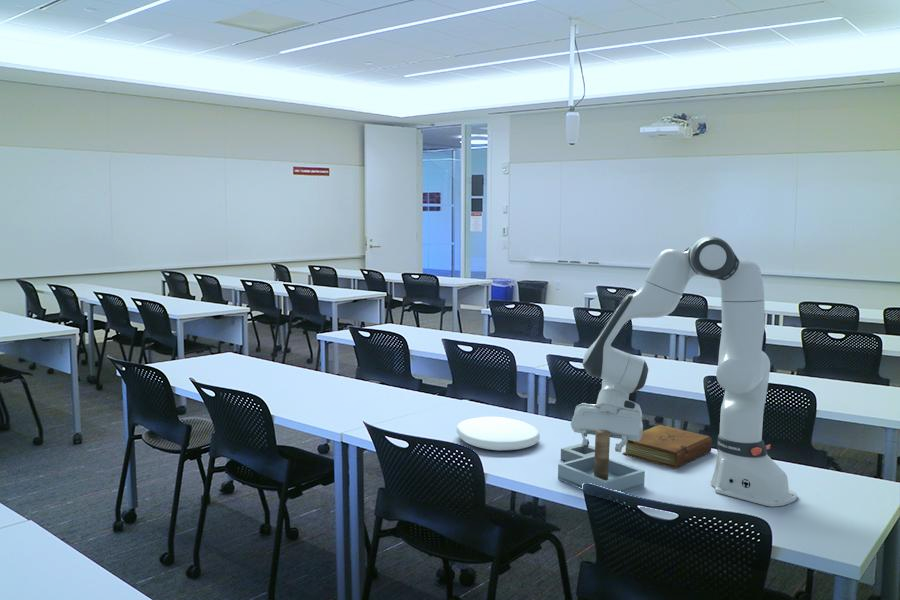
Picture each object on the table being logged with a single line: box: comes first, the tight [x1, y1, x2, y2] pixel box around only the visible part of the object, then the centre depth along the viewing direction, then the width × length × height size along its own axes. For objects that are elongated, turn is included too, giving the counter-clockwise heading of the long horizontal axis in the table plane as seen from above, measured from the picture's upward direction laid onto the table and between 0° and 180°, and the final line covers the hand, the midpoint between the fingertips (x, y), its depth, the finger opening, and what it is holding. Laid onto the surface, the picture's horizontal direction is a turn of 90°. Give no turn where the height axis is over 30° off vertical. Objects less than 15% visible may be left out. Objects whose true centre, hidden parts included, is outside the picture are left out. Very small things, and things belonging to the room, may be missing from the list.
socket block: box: [560, 443, 595, 462], centre depth 227 cm, size 10×10×4 cm
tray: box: [557, 455, 646, 494], centre depth 208 cm, size 18×16×4 cm
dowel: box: [594, 430, 611, 480], centre depth 207 cm, size 4×4×14 cm
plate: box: [455, 416, 541, 451], centre depth 246 cm, size 28×6×27 cm
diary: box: [622, 424, 713, 469], centre depth 235 cm, size 23×19×6 cm
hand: (601, 448), depth 207 cm, fingers open, 8 cm apart
